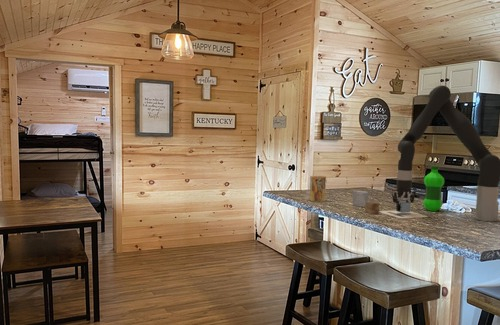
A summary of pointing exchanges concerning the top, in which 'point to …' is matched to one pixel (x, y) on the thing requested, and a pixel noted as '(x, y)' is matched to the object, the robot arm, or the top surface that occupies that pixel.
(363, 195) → the medicine box
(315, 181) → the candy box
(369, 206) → the walnut block
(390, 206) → the top surface
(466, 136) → the robot arm
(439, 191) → the plastic bottle
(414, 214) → the board
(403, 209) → the slate cube
